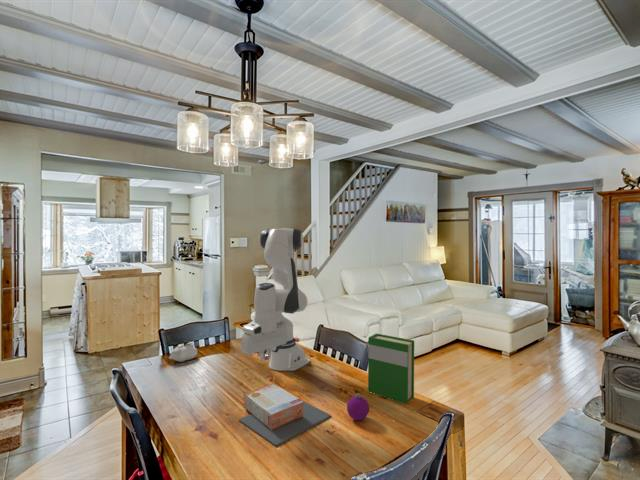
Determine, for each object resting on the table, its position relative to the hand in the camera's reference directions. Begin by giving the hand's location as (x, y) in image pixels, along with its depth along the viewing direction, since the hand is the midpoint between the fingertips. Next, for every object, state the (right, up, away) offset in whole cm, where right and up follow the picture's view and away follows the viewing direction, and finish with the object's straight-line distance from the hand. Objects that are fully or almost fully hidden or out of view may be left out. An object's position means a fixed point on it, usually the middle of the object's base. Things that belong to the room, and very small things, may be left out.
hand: (265, 359), depth 136 cm
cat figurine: (-52, -18, +51) cm, 75 cm away
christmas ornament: (+36, -19, -8) cm, 41 cm away
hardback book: (+52, -19, +11) cm, 56 cm away
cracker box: (-3, -15, +3) cm, 16 cm away
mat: (+9, -19, -8) cm, 22 cm away
